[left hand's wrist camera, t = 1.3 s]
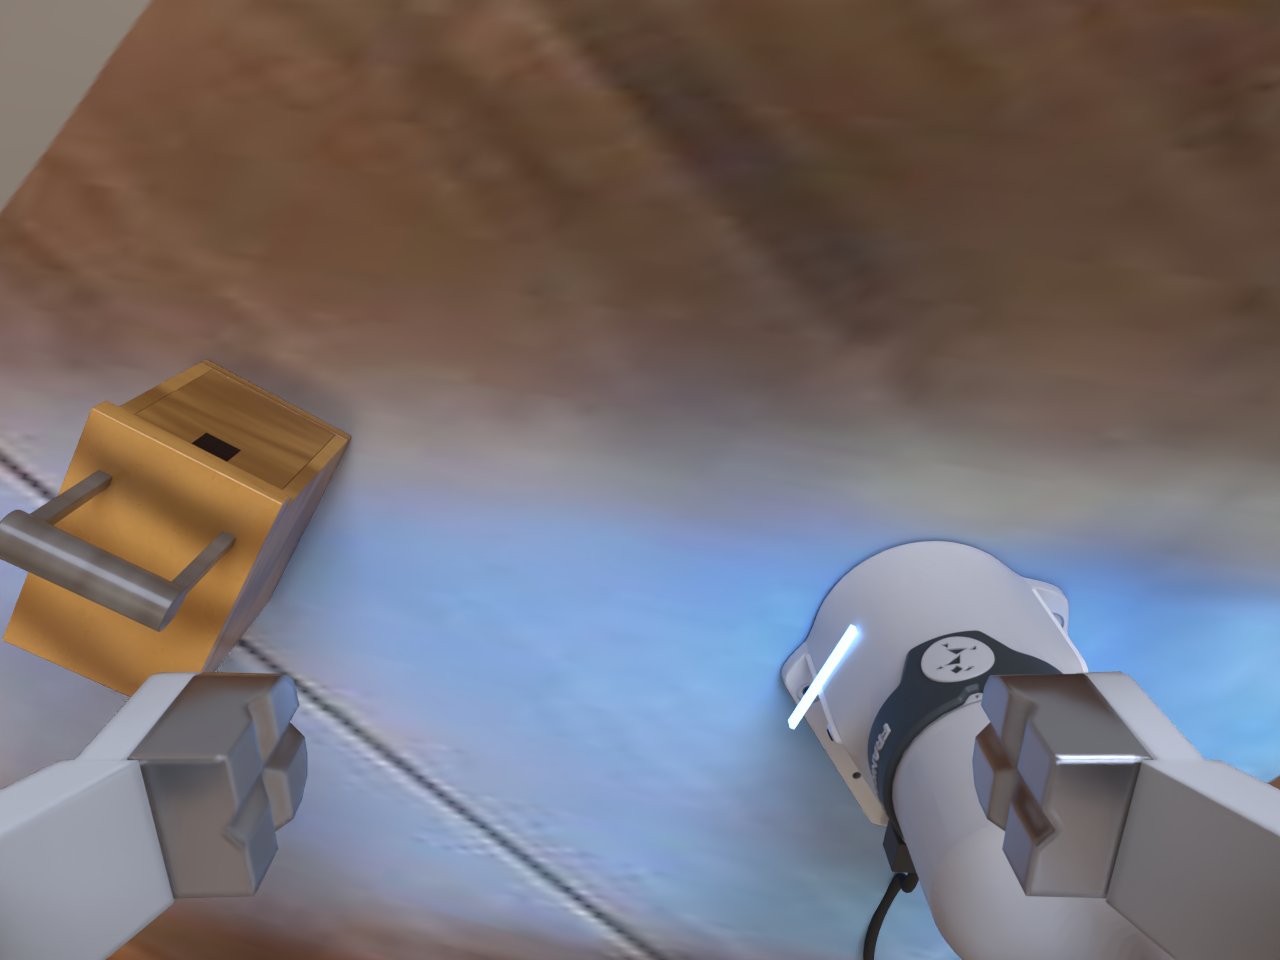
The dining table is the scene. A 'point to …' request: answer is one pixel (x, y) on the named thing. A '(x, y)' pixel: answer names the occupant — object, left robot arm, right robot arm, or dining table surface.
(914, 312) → the dining table surface
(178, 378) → the chest
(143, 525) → the lid
